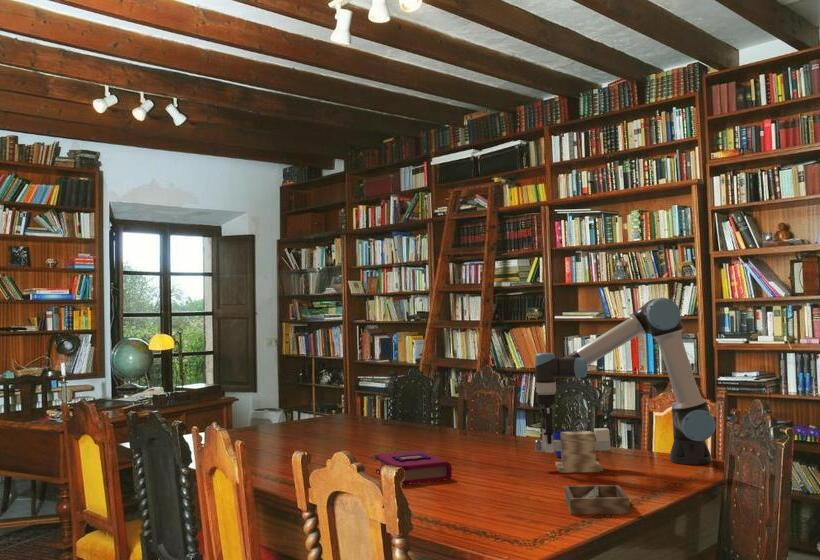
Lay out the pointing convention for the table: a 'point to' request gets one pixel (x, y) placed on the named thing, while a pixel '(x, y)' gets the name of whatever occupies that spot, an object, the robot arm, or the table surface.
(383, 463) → the book
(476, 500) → the table surface
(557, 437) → the mug
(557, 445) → the shaft
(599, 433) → the spacer
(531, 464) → the table surface
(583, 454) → the block
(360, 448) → the table surface
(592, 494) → the rock sample
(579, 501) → the wooden tray
